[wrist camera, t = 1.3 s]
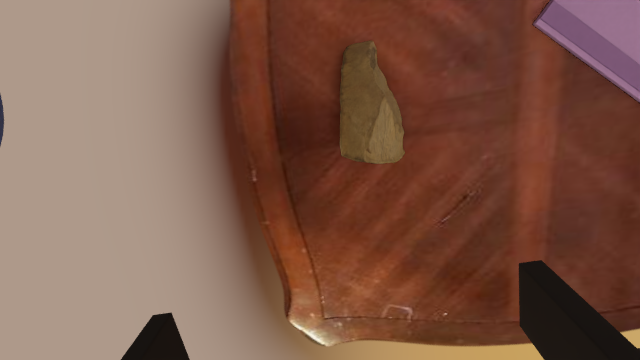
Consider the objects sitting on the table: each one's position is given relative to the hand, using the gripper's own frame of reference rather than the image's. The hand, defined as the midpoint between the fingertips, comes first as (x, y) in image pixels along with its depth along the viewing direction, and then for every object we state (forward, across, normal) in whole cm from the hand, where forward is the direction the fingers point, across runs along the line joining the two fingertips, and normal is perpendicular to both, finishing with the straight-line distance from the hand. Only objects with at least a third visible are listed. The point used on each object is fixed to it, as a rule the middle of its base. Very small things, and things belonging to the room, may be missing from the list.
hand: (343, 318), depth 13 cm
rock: (+23, +5, +5) cm, 24 cm away
